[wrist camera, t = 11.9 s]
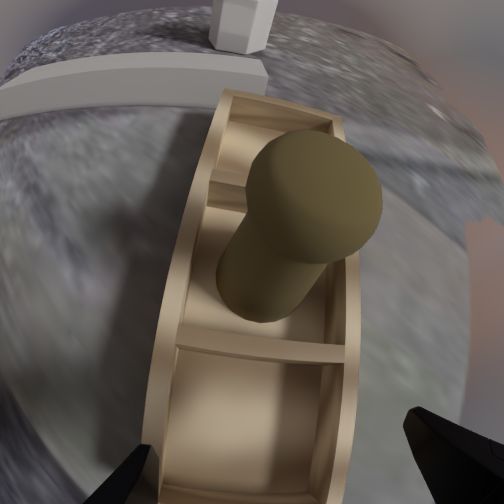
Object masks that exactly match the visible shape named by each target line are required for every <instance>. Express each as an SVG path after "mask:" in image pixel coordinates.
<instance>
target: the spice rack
mask: <svg viewBox="0 0 504 504" xmlns="http://www.w3.org/2000/svg"><path fill="white" fill-rule="evenodd" d="M305 129H306V130H313V131H320V132H324V133H326V134H329V135H332V136H335V137H337V138H339V139H341V140H342V141H344V142H346V141H345V135H344V130H343V125H342V120H341V117H339V116H336V115H333V114H330V113H327V112H324V111H320V110H317V109H314V108H310V107H307V106H303V105H300V104H296V103H292V102H288V101H284V100H280V99H276V98H272V97H267V96H263V95H258V94H253V93H248V92H243V91H238V90H232V89H226V88H224V90H223V93H222V95H221V98H220V101H219V103H218V106H217V109H216V112H215V114H214V117H213V120H212V123H211V126H210V129H209V132H208V135H207V138H206V141H205V144H204V147H203V150H202V153H201V156H200V159H199V162H198V166H197V169H196V172H195V175H194V179H193V182H192V185H191V189H190V192H189V196H188V199H187V203H186V206H185V210H184V213H183V217H182V221H181V225H180V228H179V232H178V236H177V240H176V244H175V248H174V252H173V256H172V260H171V265H170V269H169V273H168V278H167V282H166V287H165V291H164V296H163V301H162V306H161V311H160V316H159V321H158V326H157V332H156V337H155V343H154V348H153V354H152V361H151V367H150V373H149V380H148V387H147V395H146V402H145V411H144V419H143V429H142V439H141V444H150V445H152V446H153V448H154V450H155V451H156V453H157V455H158V457H159V495H158V504H342V499H343V495H344V490H345V485H346V480H347V474H348V469H349V463H350V456H351V450H352V443H353V435H354V427H355V418H356V408H357V397H358V383H359V366H360V336H361V299H360V269H359V251H356V252H355V253H354V254H352V255H350V256H347V257H345V258H343V259H340V260H338V261H335V262H332V263H329V264H328V265H327V266H326V268H325V269H324V270H323V272H322V273H321V275H320V276H319V278H318V279H317V281H316V282H315V283H314V285H313V286H312V288H311V289H310V290H309V292H308V293H307V295H306V296H305V297H304V299H303V300H302V302H301V303H300V304H299V306H298V307H297V308H296V309H295V310H294V311H293V312H292V313H291V314H290V315H289V316H287V317H285V318H283V319H281V320H278V321H276V322H269V323H257V322H253V321H248V320H245V319H243V318H242V317H240V316H238V315H237V314H235V313H233V312H232V311H231V310H230V309H229V308H228V306H227V305H226V304H225V303H224V302H223V301H222V299H221V296H220V294H219V292H218V289H217V287H216V273H215V272H216V269H217V265H218V261H219V259H220V257H221V255H222V254H223V252H224V250H225V248H226V247H227V245H228V243H229V242H230V240H231V238H232V237H233V235H234V233H235V232H236V230H237V228H238V227H239V225H240V223H241V222H242V220H243V218H244V217H245V215H246V213H247V212H248V208H247V200H246V192H245V186H246V182H247V178H248V175H249V171H250V168H251V164H252V162H253V160H254V159H255V157H256V156H257V155H258V153H259V152H260V151H261V150H262V149H263V148H264V146H265V145H266V144H267V143H268V142H269V141H271V140H273V139H275V138H277V137H279V136H281V135H283V134H285V133H287V132H290V131H296V130H305Z"/></svg>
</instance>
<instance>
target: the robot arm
mask: <svg viewBox="0 0 504 504" xmlns="http://www.w3.org/2000/svg"><path fill="white" fill-rule="evenodd" d="M403 429H404V432H405V434H406V437H407V440H408V443H409V445H410V448H411V451H412V454H413V457H414V459H415V461H416V463H417V465H418V467H419V469H420V471H421V473H422V475H423V478H424V480H425V482H426V484H427V486H428V488H429V490H430V492H431V494H432V497H433V499H434V501H435V503H436V504H504V445H503V444H501V443H498V442H495V441H493V440H491V439H488V438H486V437H484V436H481V435H479V434H477V433H475V432H472V431H470V430H468V429H465V428H464V427H461V426H459V425H457V424H455V423H453V422H451V421H449V420H446V419H444V418H442V417H440V416H438V415H436V414H434V413H432V412H430V411H428V410H426V409H424V408H422V407H419V406H417V407H414V408H412V409H410V410H409V411H408V413H407V415H406V418H405V420H404V423H403ZM158 495H159V457H158V455H157V453H156V451H155V450H154V448H153V446H152V445H150V444H140V445H138V446H137V447H136V449H135V450H134V451H133V452H132V453H131V454H130V455H129V456H128V457H127V458H126V459H125V460H124V461H123V463H122V464H121V465H120V466H119V467H118V468H117V469H116V470H115V471H114V472H113V473H112V474H111V475H110V476H109V477H108V478H107V479H106V480H105V481H104V482H103V483H102V484H101V485H100V486H99V487H98V488H97V490H96V491H95V492H94V493H93V494H92V495H91V496H90V497H89V498H88V499H87V500H86V501H85V502H84V503H83V504H158Z"/></svg>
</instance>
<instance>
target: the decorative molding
mask: <svg viewBox="0 0 504 504" xmlns="http://www.w3.org/2000/svg"><path fill="white" fill-rule="evenodd" d="M268 78H269V77H268V75H267V73H266V70H265V68H264V66H263V64H262V62H261V60H257V59H250V58H243V57H235V56H226V55H216V54H203V53H183V52H144V53H124V54H112V55H102V56H94V57H86V58H80V59H73V60H68V61H62V62H57V63H52V64H48V65H43V66H39V67H35V68H32V69H30V70H28V71H26V72H25V73H23V74H21V75H19V76H18V77H16V78H14V79H13V80H11V81H9V82H8V83H6V84H4V85H3V86H1V87H0V121H1V120H6V119H11V118H16V117H21V116H27V115H33V114H39V113H45V112H52V111H61V110H70V109H80V108H95V107H114V106H171V107H189V108H203V109H215V110H216V109H217V106H218V103H219V101H220V98H221V95H222V93H223V90H224V88H226V89H232V90H238V91H243V92H248V93H253V94H258V95H263V96H264V95H265V91H266V86H267V82H268Z"/></svg>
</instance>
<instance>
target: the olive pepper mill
mask: <svg viewBox="0 0 504 504" xmlns="http://www.w3.org/2000/svg"><path fill="white" fill-rule="evenodd" d="M245 192H246V200H247V208H248V212H247V213H246V215H245V217H244V218H243V220H242V222H241V223H240V225H239V227H238V228H237V230H236V232H235V233H234V235H233V237H232V238H231V240H230V242H229V243H228V245H227V247H226V248H225V250H224V252H223V254H222V255H221V257H220V259H219V261H218V265H217V269H216V272H215V273H216V287H217V289H218V292H219V294H220V296H221V299H222V301H223V302H224V303H225V304H226V305H227V306H228V308H229V309H230V310H231V311H232V312H233V313H235V314H237V315H238V316H240V317H242V318H243V319H245V320H248V321H253V322H257V323H269V322H276V321H278V320H281V319H283V318H285V317H287V316H289V315H290V314H291V313H292V312H293V311H294V310H295V309H296V308H297V307H298V306H299V304H300V303H301V302H302V300H303V299H304V297H305V296H306V295H307V293H308V292H309V290H310V289H311V288H312V286H313V285H314V283H315V282H316V281H317V279H318V278H319V276H320V275H321V273H322V272H323V270H324V269H325V268H326V266H327V265H328V264H329V263H332V262H335V261H338V260H340V259H343V258H345V257H347V256H350V255H352V254H354V253H355V252H356V251H358V250H359V249H360V248H361V247H362V246H363V245H364V244H365V243H366V242H367V241H368V240H369V239H370V237H371V236H372V235H373V234H374V232H375V230H376V228H377V226H378V223H379V220H380V217H381V213H382V204H383V199H382V189H381V184H380V182H379V180H378V177H377V175H376V172H375V171H374V169H373V168H372V167H371V165H370V164H369V163H368V161H367V160H366V158H365V157H363V156H362V155H361V154H360V153H359V152H358V151H357V150H356V149H355V148H353V147H352V146H351V145H349V144H347V143H346V142H344V141H342V140H341V139H339V138H337V137H335V136H332V135H329V134H326V133H324V132H320V131H313V130H306V129H305V130H296V131H290V132H287V133H285V134H283V135H281V136H279V137H277V138H275V139H273V140H271V141H269V142H268V143H267V144H266V145H265V146H264V148H263V149H262V150H261V151H260V152H259V153H258V155H257V156H256V157H255V159H254V160H253V162H252V164H251V168H250V171H249V175H248V178H247V182H246V186H245Z"/></svg>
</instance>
